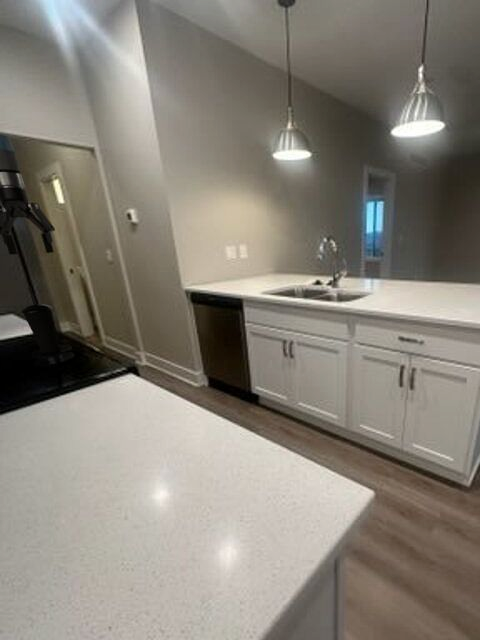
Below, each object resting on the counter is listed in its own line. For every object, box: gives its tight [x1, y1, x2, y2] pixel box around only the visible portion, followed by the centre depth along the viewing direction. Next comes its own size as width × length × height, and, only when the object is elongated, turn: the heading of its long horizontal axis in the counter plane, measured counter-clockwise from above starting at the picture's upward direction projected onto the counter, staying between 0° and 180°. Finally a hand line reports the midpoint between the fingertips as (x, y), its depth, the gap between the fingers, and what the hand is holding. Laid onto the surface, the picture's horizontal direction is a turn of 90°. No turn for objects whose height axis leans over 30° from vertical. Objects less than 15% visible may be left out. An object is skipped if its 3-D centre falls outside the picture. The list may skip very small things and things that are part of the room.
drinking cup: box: [20, 286, 61, 353], centre depth 106 cm, size 8×8×20 cm
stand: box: [30, 344, 76, 370], centre depth 110 cm, size 11×11×4 cm
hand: (32, 253), depth 124 cm, fingers open, 13 cm apart
